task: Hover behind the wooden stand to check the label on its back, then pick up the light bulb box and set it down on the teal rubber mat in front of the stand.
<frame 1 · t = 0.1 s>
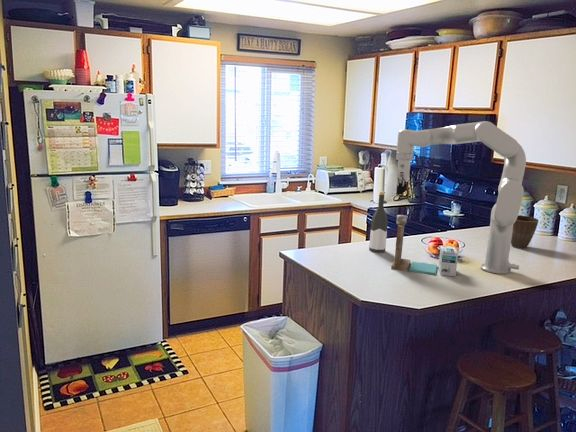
hand: (401, 193, 233), 31 cm above the countertop, fingers open, 9 cm apart
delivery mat: (423, 268, 223), on the countertop
plant pot: (519, 247, 268), on the countertop
light bulb box: (446, 272, 220), on the countertop
wooden stand: (400, 265, 226), on the countertop
wine bottle: (377, 250, 249), on the countertop
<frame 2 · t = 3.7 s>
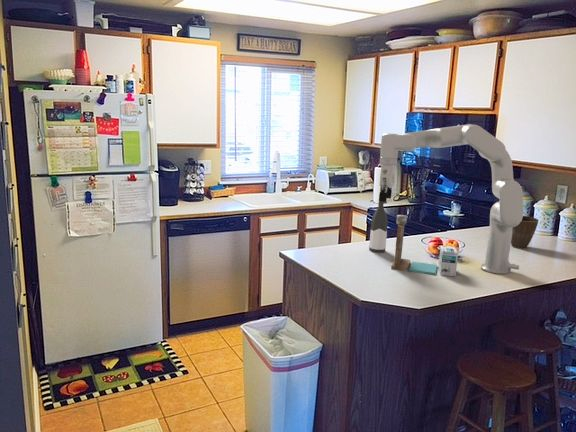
hand: (385, 199, 222), 30 cm above the countertop, fingers open, 9 cm apart
nothing on the countertop moved.
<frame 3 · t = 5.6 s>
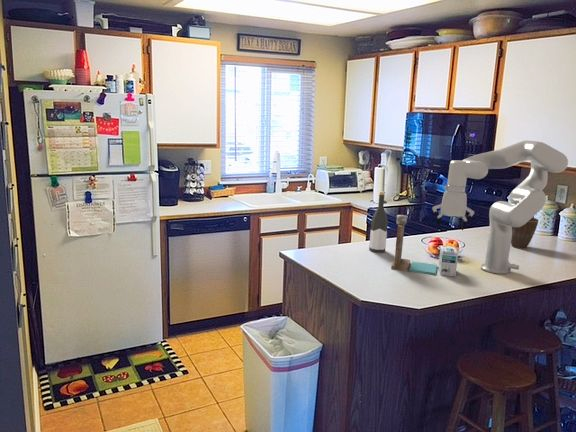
hand: (450, 228, 215), 20 cm above the countertop, fingers open, 9 cm apart
nothing on the countertop moved.
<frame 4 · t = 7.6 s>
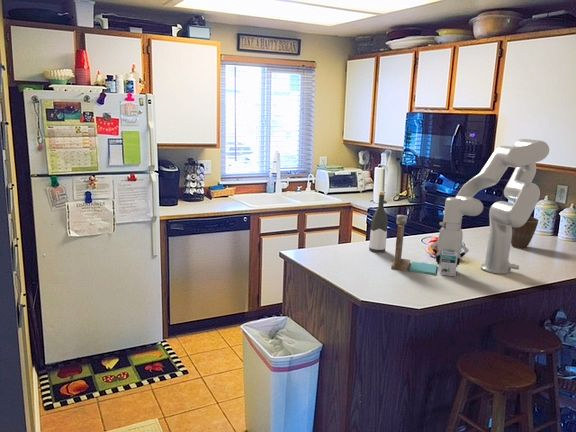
hand: (447, 264, 219), 3 cm above the countertop, fingers closed on light bulb box, 7 cm apart
light bulb box: (446, 272, 220), on the countertop, touching gripper
everything else where it was.
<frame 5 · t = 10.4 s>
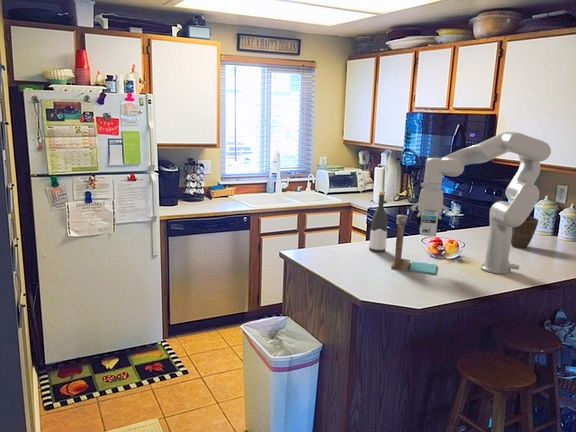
hand: (428, 226, 218), 20 cm above the countertop, fingers closed on light bulb box, 7 cm apart
light bulb box: (427, 233, 219), point 16 cm above the countertop, touching gripper
everything else where it was.
when the fingers open (6 cm above the countertop, at t = 13.6 s): light bulb box drops 1 cm, resting on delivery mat.
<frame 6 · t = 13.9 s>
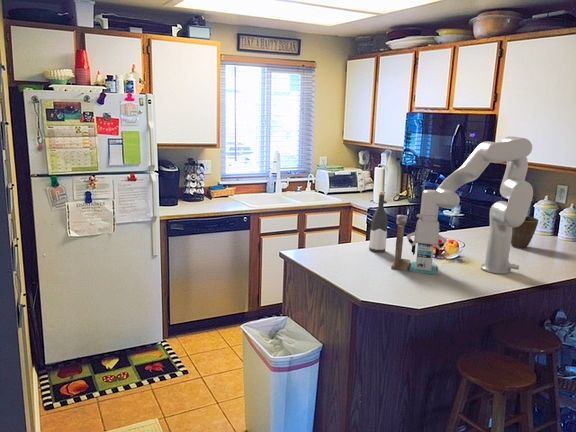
hand: (424, 255, 221), 6 cm above the countertop, fingers open, 9 cm apart
light bulb box: (423, 267, 223), point 1 cm above the countertop, touching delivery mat
everything else where it was.
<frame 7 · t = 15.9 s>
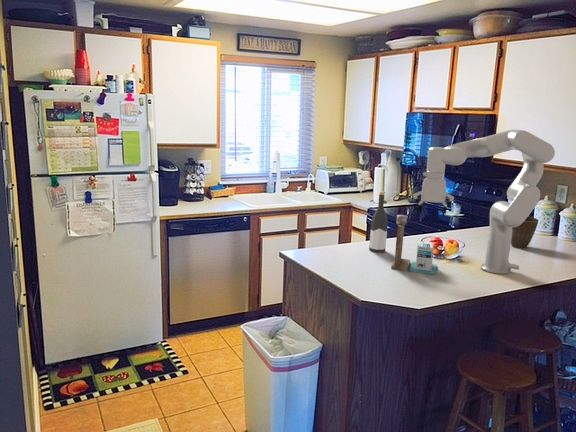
hand: (431, 214, 219), 25 cm above the countertop, fingers open, 9 cm apart
nothing on the countertop moved.
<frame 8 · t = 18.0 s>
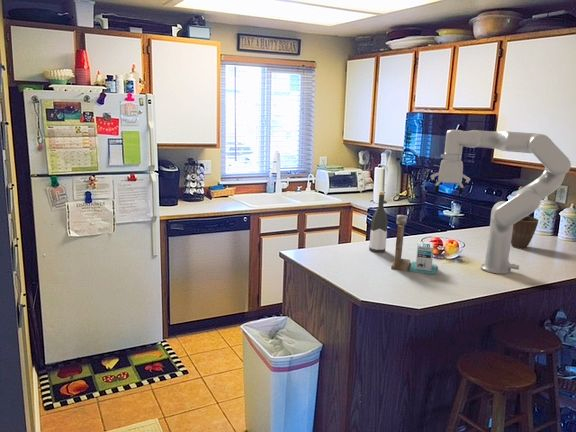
hand: (448, 195, 226), 32 cm above the countertop, fingers open, 9 cm apart
nothing on the countertop moved.
at the end: light bulb box 0.1 cm off-centre on the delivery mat, point 0.6 cm above the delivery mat's base; light bulb box tilted 0°; the gripper is holding nothing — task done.
